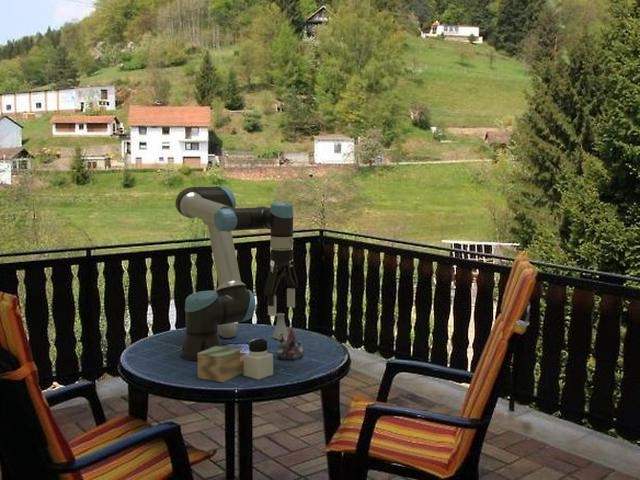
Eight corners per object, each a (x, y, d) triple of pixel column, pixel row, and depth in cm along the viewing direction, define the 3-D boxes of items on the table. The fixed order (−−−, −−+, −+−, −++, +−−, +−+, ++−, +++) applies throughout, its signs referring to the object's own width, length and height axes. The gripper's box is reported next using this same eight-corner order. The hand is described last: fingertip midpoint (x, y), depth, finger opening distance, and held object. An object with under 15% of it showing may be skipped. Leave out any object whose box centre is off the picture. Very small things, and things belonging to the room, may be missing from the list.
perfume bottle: (229, 340, 258) (229, 311, 257) (210, 337, 263) (210, 309, 262) (240, 336, 264) (240, 308, 263) (222, 333, 269) (221, 305, 268)
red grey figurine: (304, 355, 228) (284, 328, 228) (281, 372, 230) (261, 345, 231) (312, 347, 239) (293, 321, 239) (289, 363, 241) (271, 337, 242)
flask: (293, 337, 263) (292, 313, 262) (283, 341, 257) (282, 316, 256) (278, 335, 267) (278, 311, 266) (268, 338, 261) (268, 314, 260)
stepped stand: (197, 377, 211) (197, 353, 210) (232, 362, 228) (232, 339, 228) (222, 382, 206) (222, 356, 205) (256, 365, 224) (256, 342, 223)
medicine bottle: (273, 374, 214) (273, 339, 213) (257, 380, 208) (257, 344, 207) (259, 370, 218) (258, 336, 217) (243, 375, 213) (242, 340, 212)
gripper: (273, 254, 201) (274, 320, 203) (307, 245, 223) (307, 305, 226) (253, 252, 204) (253, 317, 206) (288, 244, 226) (288, 303, 229)
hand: (281, 311), depth 216 cm, fingers open, 13 cm apart
